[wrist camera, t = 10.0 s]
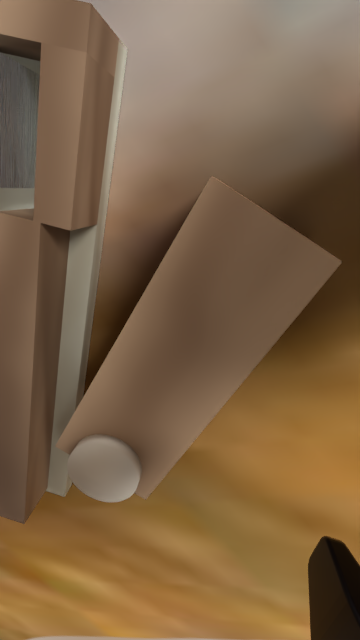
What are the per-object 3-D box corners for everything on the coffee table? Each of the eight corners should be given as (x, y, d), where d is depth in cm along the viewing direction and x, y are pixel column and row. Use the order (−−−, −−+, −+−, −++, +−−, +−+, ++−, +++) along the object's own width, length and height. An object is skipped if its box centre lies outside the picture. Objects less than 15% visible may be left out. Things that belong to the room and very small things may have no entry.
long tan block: (311, 240, 15) (348, 265, 10) (159, 440, 20) (133, 522, 15) (220, 180, 14) (209, 174, 10) (90, 398, 20) (40, 468, 15)
